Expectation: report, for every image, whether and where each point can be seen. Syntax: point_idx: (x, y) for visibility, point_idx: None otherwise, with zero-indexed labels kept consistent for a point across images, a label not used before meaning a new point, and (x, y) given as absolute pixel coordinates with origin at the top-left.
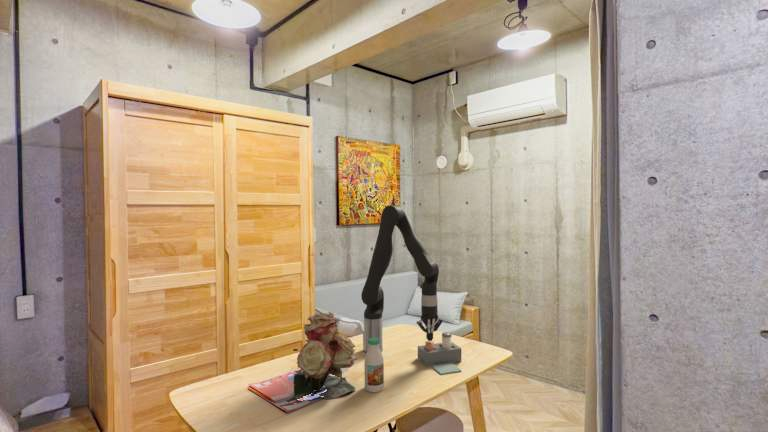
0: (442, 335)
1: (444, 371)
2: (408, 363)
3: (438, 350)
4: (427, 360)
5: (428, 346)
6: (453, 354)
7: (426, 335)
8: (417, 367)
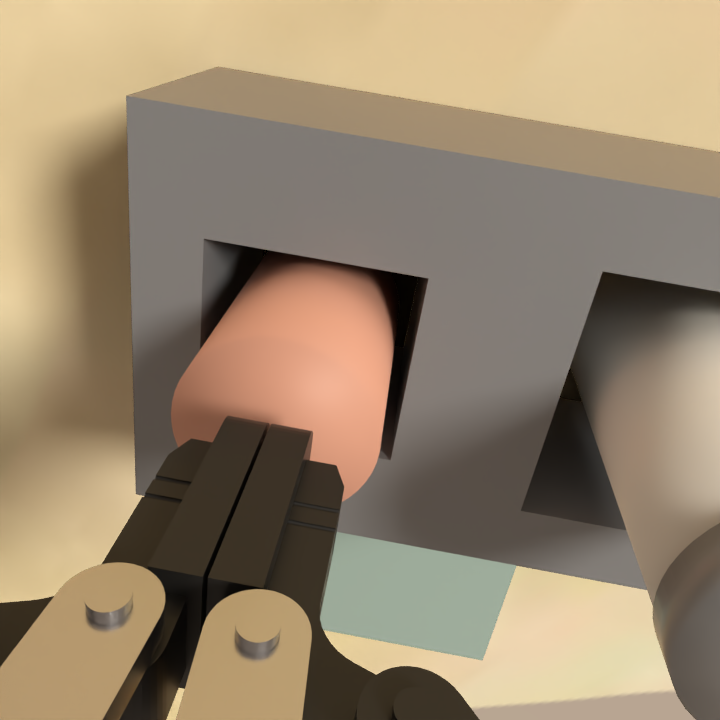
0: (668, 602)
1: None
2: (4, 174)
3: (396, 502)
4: None
5: None
6: None
7: (138, 507)
8: (82, 349)
